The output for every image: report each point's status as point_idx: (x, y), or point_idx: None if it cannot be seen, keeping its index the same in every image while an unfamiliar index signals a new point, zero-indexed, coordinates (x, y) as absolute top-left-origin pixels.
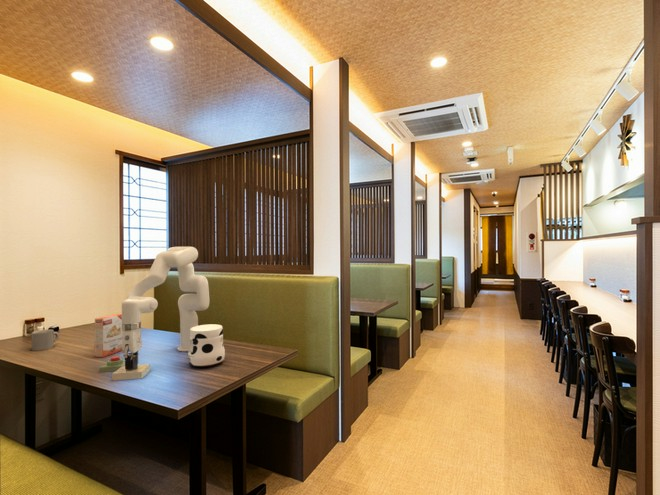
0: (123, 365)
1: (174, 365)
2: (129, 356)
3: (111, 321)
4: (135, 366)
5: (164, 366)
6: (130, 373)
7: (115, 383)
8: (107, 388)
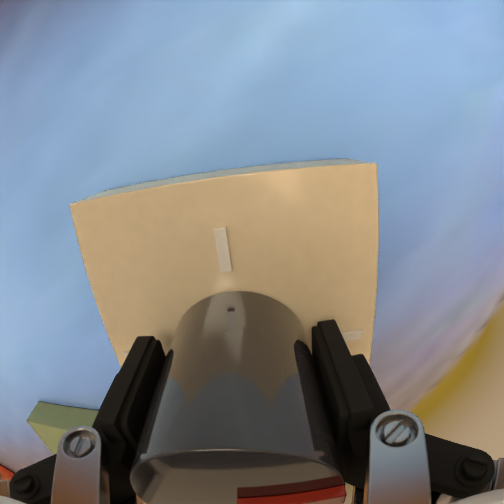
0: None
1: (10, 39)
2: (470, 468)
3: None
4: (273, 317)
5: (15, 111)
6: (371, 293)
7: (411, 335)
8: (476, 328)
